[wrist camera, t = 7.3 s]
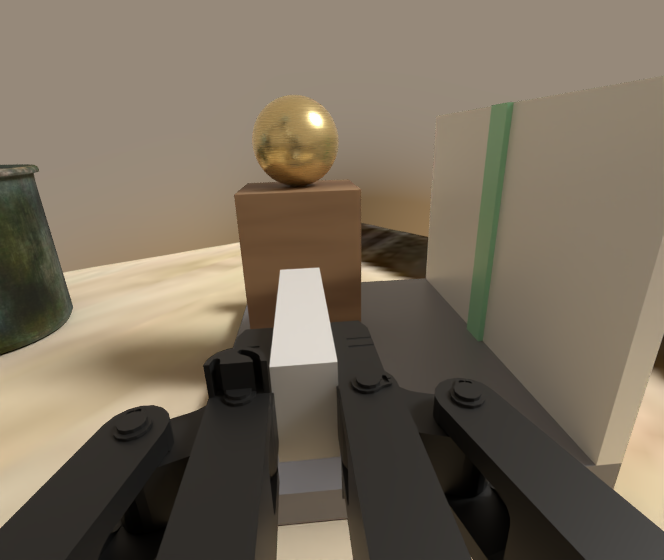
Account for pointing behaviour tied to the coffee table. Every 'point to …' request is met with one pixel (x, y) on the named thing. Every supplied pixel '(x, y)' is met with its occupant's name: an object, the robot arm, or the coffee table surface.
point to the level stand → (529, 275)
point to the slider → (299, 212)
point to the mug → (27, 264)
